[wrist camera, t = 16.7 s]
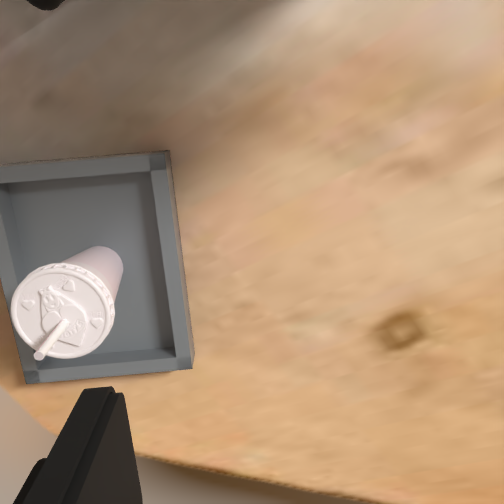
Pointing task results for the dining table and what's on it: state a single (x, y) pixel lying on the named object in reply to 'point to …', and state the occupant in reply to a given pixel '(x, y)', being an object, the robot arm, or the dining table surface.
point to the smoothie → (68, 304)
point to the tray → (108, 235)
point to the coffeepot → (46, 4)
